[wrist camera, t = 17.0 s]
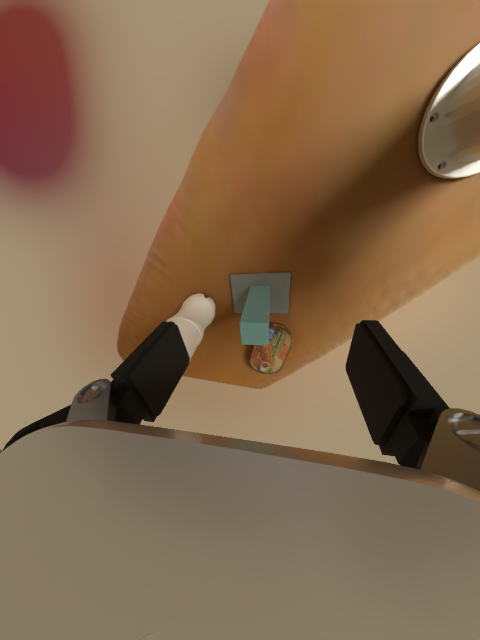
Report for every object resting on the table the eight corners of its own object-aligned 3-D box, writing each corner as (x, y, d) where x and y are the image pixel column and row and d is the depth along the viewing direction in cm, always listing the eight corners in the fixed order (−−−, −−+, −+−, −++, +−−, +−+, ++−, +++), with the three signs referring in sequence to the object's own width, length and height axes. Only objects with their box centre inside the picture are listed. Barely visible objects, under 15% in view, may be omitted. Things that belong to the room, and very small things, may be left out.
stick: (270, 303, 39) (267, 345, 27) (251, 303, 39) (241, 344, 28) (270, 285, 37) (268, 323, 25) (250, 285, 37) (239, 322, 26)
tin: (259, 324, 40) (298, 334, 39) (261, 316, 42) (297, 326, 41) (246, 369, 48) (277, 379, 47) (248, 361, 50) (278, 370, 50)
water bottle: (201, 283, 40) (119, 371, 19) (224, 306, 42) (174, 407, 21) (183, 302, 43) (96, 394, 22) (205, 322, 45) (146, 423, 24)
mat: (290, 271, 35) (290, 272, 35) (288, 312, 40) (288, 313, 39) (230, 274, 37) (229, 275, 37) (235, 312, 42) (234, 313, 42)
